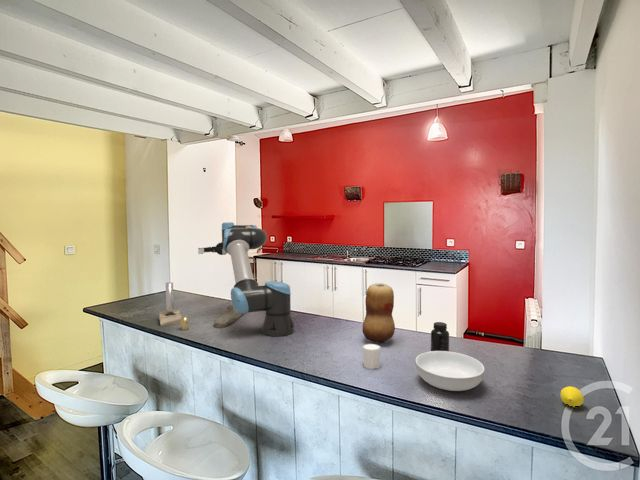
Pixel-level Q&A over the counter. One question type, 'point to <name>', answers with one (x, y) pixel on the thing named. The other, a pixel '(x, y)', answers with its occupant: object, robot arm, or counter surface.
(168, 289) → the steel pin
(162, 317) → the guide block
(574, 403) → the lemon
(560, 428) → the counter surface
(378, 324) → the butternut squash
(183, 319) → the brass stub pin
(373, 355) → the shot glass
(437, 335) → the supplement bottle
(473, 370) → the serving bowl
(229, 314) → the elongated rock
